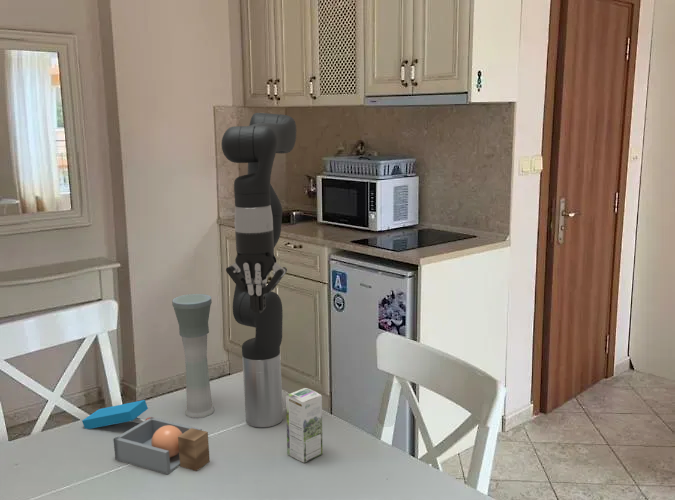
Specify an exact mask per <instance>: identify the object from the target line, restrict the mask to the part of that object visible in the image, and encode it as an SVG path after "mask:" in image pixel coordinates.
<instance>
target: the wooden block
mask: <svg viewBox="0 0 675 500" xmlns="http://www.w3.org/2000/svg"><path fill="white" fill-rule="evenodd" d="M178 445H179V457H180V466H179V467H181V468H184V469H188V470H190V471H191V470H192V471H195V472H198V471H199V470H200V469H201V468H203V467H204V466H206V465H207V464H208V463H210V461H211V459H210V445H209V432H208V431H206V430H203V429H202V430H198V429H194V428H191V429H189V430H188V431H186V432H184V433H183V434H181V435H180V436H178Z"/></svg>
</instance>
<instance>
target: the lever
mask: <svg viewBox="0 0 675 500" xmlns="http://www.w3.org/2000/svg"><path fill="white" fill-rule="evenodd" d="M148 409H149V407H148V405H147V402H146V400H145V399H142V400H137V401H133V402H128V403H127V402H126V403H122V404H117V405H112V406H107V407H102V408H99V409H97V410H96V411H94V412H93V413H90V414H89V415H88V416H87V417H85V418H84V419H82V420H81V422H82V424H83V427H84V429H86V430H90V429H96V428H101V427H102V428H103V427H107V426H111V425H117V424H123V423H127V422H131V423H136V424H140V423H142V422H144V421H145V420H147V419H149V418H151V417H153V416H150V417H147V418H146V419H143V418H139V416H141V415H142V414H143V413H145V412H146V411H147V410H148ZM153 418H155V417H153Z"/></svg>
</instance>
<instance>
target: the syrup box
mask: <svg viewBox="0 0 675 500" xmlns="http://www.w3.org/2000/svg"><path fill="white" fill-rule="evenodd" d="M285 412H286V415H285V416H286V448H287V449H286V451H287V452H286V453H287V455H288V456H289V457H291V458H293V459H295V460H297V461H299V462H302V463H303V464H306V463H307V462H309V461H311V460H314V459H315V458H317V457H319V456H321V455H323V454H324V453H323V446H324V445H323V397H322V395H321V394H320V393H318V391H315V390H313V389H311V388H307V387H303V388H301V389H299V390H296V391H293V392H291V393H288V394H287V395H285Z"/></svg>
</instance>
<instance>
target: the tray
mask: <svg viewBox="0 0 675 500" xmlns="http://www.w3.org/2000/svg"><path fill="white" fill-rule="evenodd" d="M150 417H151V418H149V417H148V418H149V419H147V418H146V419H147V420H146V419H144V420H145V421H144V422H142V423H140V424H139V423H137V425H135V426H134V427H133V426H132V427H131V428H130V429H128V430H126V431H125V432H123V433H121V434H119V435H117V436H115V437H114V438H113V439H112V441H113V448H114V459H115V461H120V462H123V463H126V464H130V465H133V466H136V467H140V468H143V469H147V470H150V471H154V472H156V473H157V472H158V473H161V474H164V475H169V474H171V473H173V471H175V470H176V469H177V468H179V467H180V457H179V453H178V454H177V455H176V456H174V457H171V458H169V451H168V450H164V449H160V448H156V447H153V446H152V444H151V441H152V437H153V435H154V433H155V432H156V431H157V430H158V429H159V428H160V427H163V426H166V425H172V426H175V427H177V428H178V429H179V430H180V431H181V432H182V434H183V433H184V432H186V431H188V430H189V429H191V428H194V429H198V430H202V431H203V429H202V428H198V427H194V426H189V425H186V424H182V423H178V422H174V421H170V420H165V419H162V418H161V419H160V418H157V417H154V418H153V416H150Z"/></svg>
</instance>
